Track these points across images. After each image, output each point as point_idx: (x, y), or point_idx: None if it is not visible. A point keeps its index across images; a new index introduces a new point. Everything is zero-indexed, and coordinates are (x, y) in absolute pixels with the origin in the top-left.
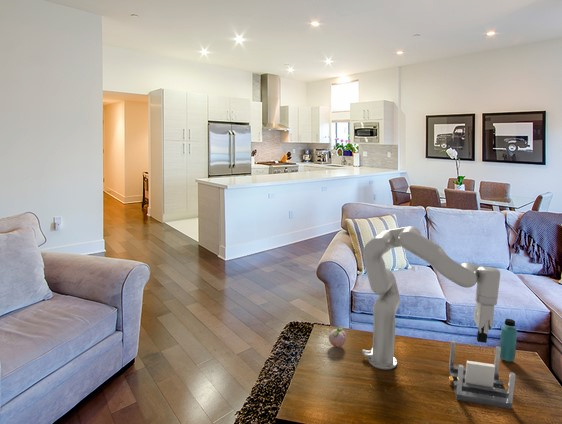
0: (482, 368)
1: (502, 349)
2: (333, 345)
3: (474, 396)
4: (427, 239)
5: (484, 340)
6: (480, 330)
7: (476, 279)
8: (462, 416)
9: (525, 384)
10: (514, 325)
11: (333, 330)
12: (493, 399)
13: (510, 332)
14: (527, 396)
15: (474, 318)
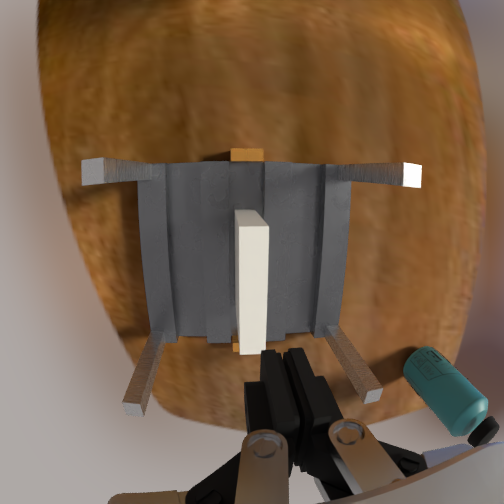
0: (238, 296)
1: (430, 367)
2: None
3: (144, 228)
4: None
5: (245, 410)
6: (239, 473)
7: None
8: (67, 178)
9: None
10: (469, 443)
11: None
12: (151, 292)
13: (455, 424)
14: (242, 384)
15: (479, 476)
